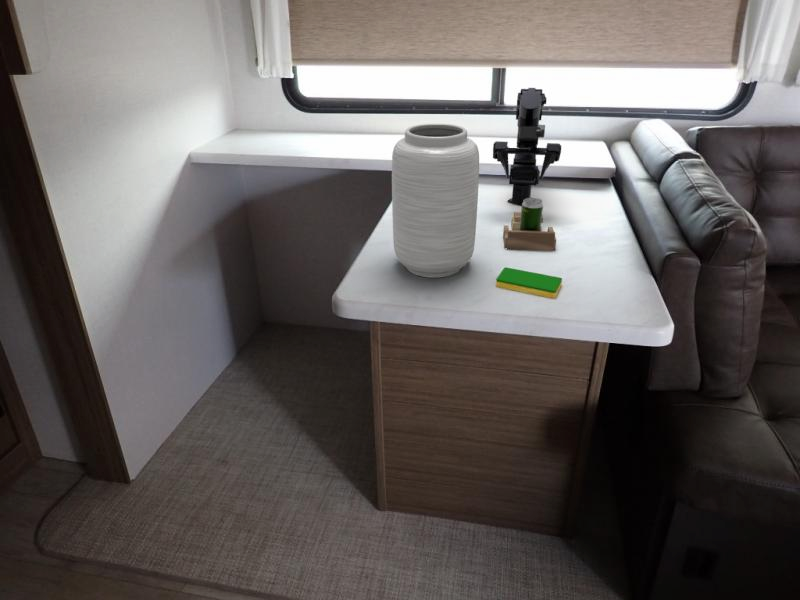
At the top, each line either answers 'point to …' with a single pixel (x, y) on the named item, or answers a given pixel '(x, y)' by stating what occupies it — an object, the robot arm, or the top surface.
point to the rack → (529, 239)
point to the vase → (434, 199)
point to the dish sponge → (529, 282)
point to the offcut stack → (518, 221)
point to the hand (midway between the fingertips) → (524, 178)
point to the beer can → (531, 214)
